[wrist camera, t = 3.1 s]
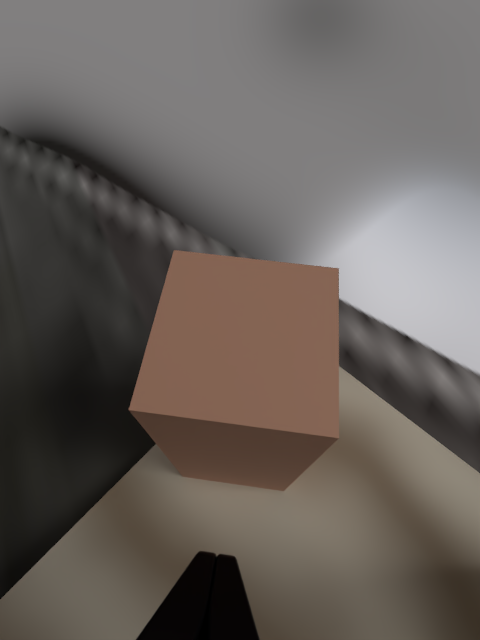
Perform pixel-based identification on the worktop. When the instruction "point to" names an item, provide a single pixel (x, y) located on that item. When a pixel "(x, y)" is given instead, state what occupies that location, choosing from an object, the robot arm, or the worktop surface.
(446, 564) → the maple board
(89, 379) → the worktop surface
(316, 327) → the terracotta block
